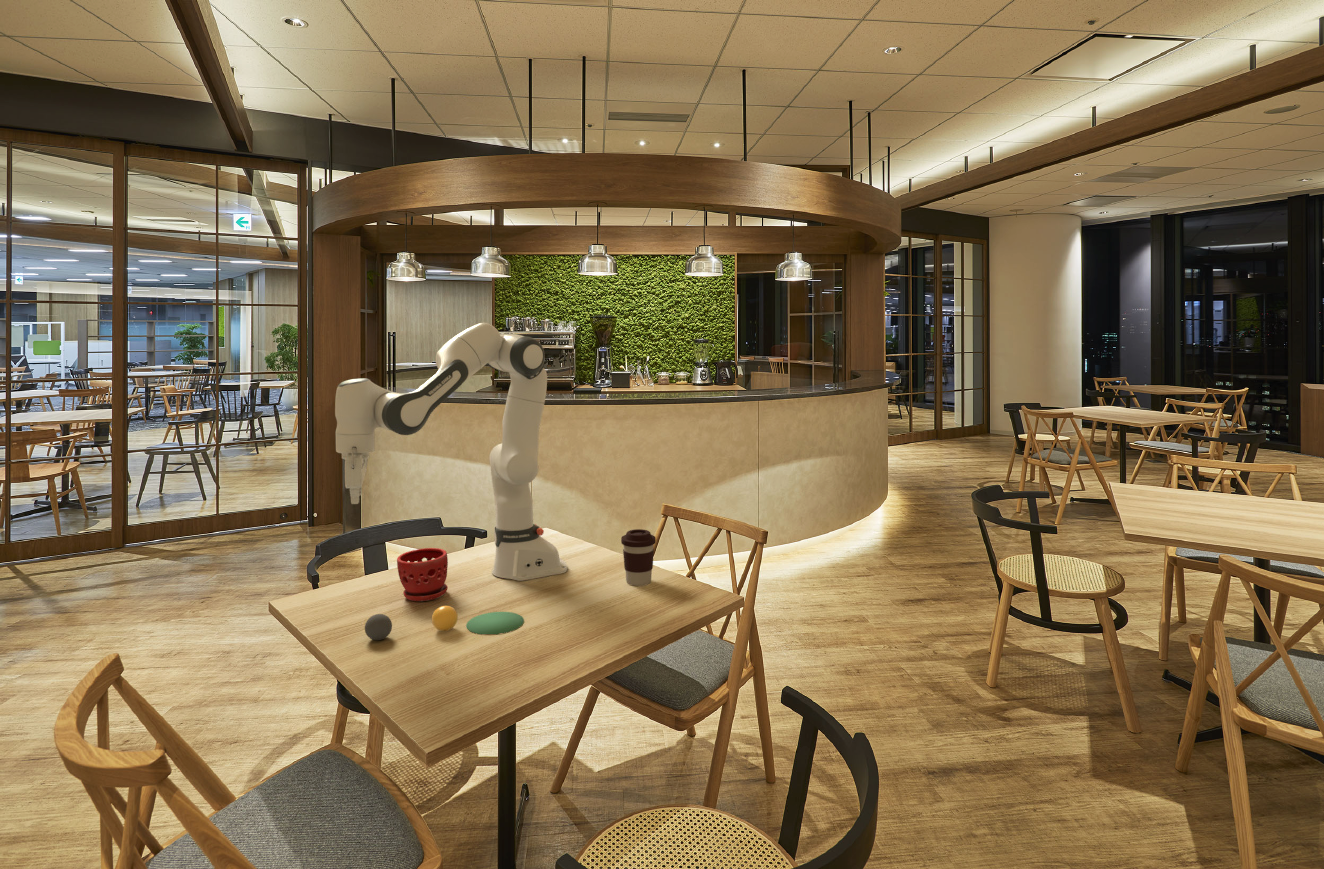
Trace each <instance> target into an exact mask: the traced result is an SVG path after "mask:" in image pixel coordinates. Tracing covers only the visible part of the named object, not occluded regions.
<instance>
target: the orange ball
mask: <svg viewBox="0 0 1324 869" xmlns="http://www.w3.org/2000/svg"><path fill="white" fill-rule="evenodd" d="M458 618H459V617H458V613H457V611H456V609H455V608H454V607H452V606H450V605H442V606H439V607H438V608H436V609H435V610H434V611H433V613H432V615H431V623H432V625H433V627H434V628H435V629H436V630H437V631H440V632H447V631H451V629H453V628H454V627H455V626H456V624H457V622H458Z"/></svg>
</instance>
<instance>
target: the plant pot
mask: <svg viewBox="0 0 1324 869" xmlns="http://www.w3.org/2000/svg"><path fill="white" fill-rule="evenodd" d="M423 559H426V560H425V561H423ZM448 560H449V558H448V553H447V551H446V550H445V549H443V548H439V547H438V548H437V547H425V548H418V549H413V550H408V551H407V552H403V553H402V554H400V555H399V556H397V558H396V565H397V573H398V577H399V578H398V579H399V580H400V582H401V585H402V587H403V589H404V590H403V594H402V595H403V596H404V597H405V599H408V600H409V601H413V602H427V601H433V600H435V599H440V597H442V596H444V595H445V594H446V593H447V591H448V585H447V584H446V581H447V577H448V565H449V562H448Z"/></svg>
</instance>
